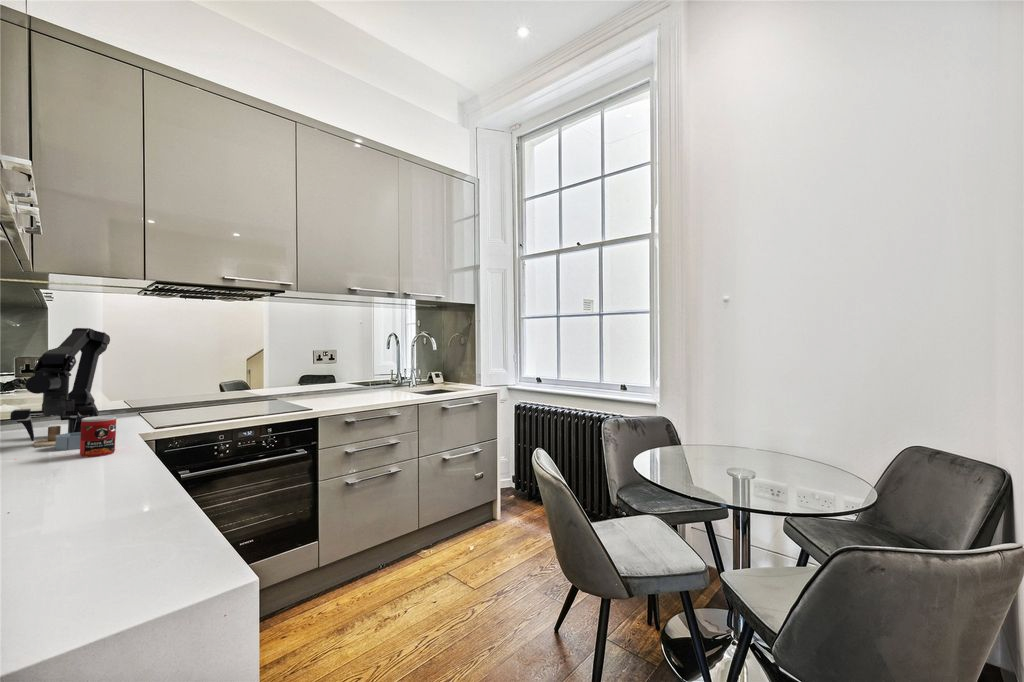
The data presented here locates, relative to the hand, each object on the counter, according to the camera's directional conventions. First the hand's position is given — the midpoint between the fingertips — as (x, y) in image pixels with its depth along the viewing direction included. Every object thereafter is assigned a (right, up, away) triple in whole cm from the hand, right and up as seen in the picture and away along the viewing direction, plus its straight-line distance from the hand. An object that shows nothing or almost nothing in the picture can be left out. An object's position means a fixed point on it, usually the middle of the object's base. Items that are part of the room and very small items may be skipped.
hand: (53, 439), depth 140 cm
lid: (0, -2, 0) cm, 2 cm away
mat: (0, -2, 0) cm, 2 cm away
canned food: (+25, -2, -11) cm, 27 cm away
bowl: (+11, -2, -4) cm, 12 cm away
